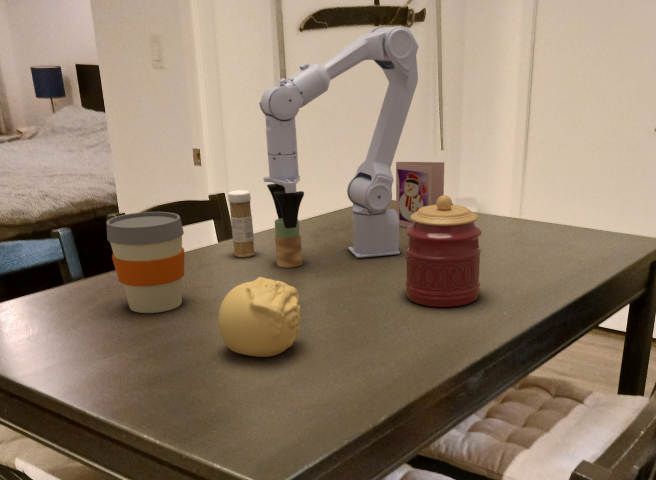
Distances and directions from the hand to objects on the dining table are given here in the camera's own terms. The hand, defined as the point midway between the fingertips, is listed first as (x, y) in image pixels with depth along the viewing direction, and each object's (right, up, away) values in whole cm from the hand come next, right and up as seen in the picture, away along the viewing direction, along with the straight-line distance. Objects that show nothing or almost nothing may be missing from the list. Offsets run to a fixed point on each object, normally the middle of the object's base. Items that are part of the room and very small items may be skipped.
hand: (287, 223), depth 152 cm
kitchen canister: (+29, -17, -18) cm, 38 cm away
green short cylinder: (0, -2, +1) cm, 2 cm away
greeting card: (+29, +6, +31) cm, 43 cm away
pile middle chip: (0, -5, +2) cm, 5 cm away
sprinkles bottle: (-10, -5, +11) cm, 15 cm away
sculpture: (0, -27, -39) cm, 47 cm away
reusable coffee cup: (-21, -18, -19) cm, 34 cm away
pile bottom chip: (0, -8, +3) cm, 8 cm away
